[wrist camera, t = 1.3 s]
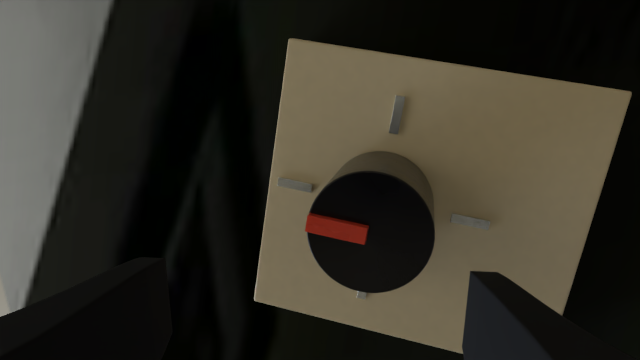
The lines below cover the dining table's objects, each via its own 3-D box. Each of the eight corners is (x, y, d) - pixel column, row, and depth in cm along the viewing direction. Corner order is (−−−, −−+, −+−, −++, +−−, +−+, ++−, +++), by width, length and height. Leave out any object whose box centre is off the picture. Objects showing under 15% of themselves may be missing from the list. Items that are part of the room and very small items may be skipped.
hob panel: (602, 88, 19) (635, 92, 16) (529, 335, 22) (545, 378, 19) (307, 41, 21) (286, 37, 18) (273, 273, 24) (251, 303, 21)
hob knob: (443, 162, 18) (448, 188, 14) (421, 261, 19) (420, 311, 15) (337, 141, 19) (314, 161, 15) (321, 239, 20) (295, 281, 16)
